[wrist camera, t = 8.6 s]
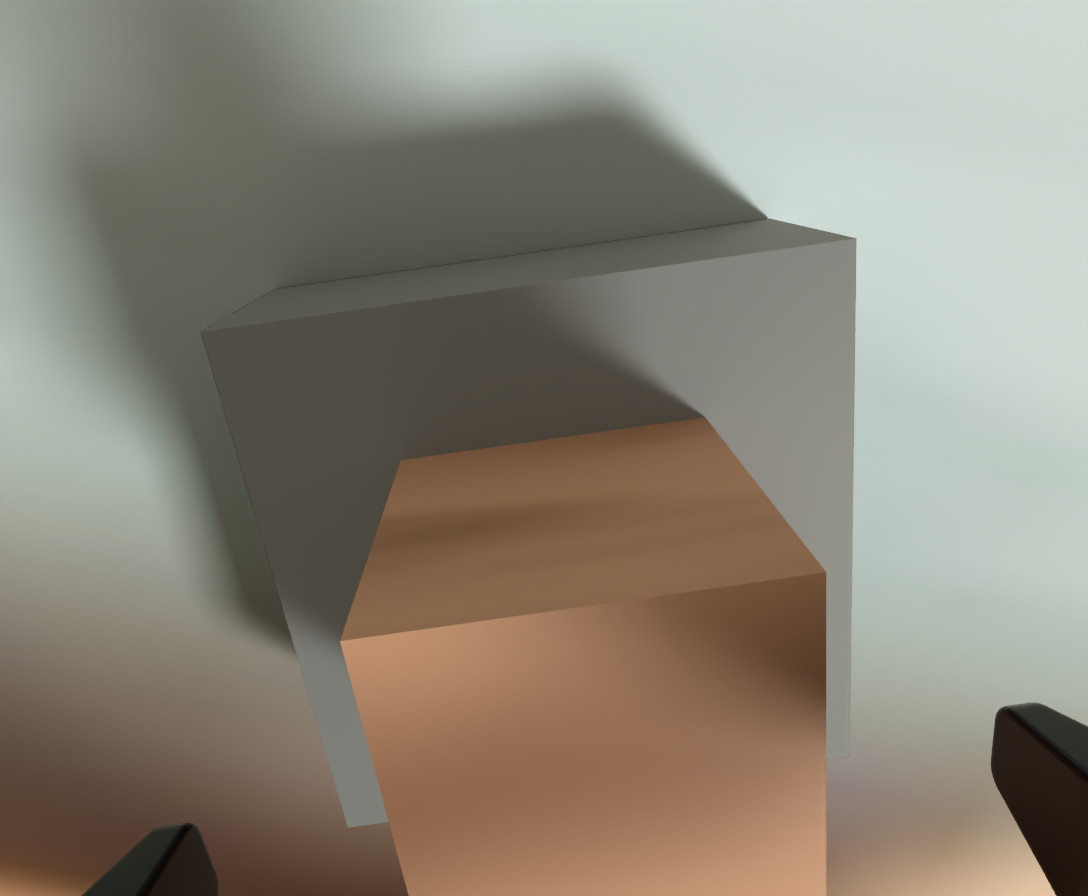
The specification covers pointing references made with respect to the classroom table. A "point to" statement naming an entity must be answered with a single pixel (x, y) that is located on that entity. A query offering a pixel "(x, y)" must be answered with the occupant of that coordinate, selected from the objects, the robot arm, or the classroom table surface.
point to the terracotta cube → (594, 672)
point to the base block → (537, 407)
